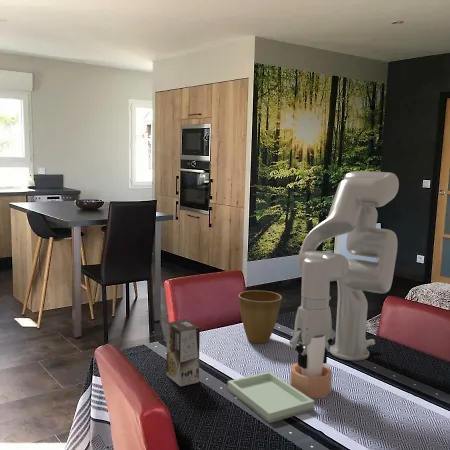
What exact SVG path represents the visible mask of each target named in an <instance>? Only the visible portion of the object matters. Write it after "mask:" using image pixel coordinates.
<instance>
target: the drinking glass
mask: <svg viewBox="0 0 450 450" xmlns="http://www.w3.org/2000/svg"><path fill="white" fill-rule="evenodd" d="M303 346H304V345H303V344H302V349H303ZM324 354H325V335H324V336H323V337H319V338H311V342H310V345H307V351H306V355H307V368H306V369H304V368H302V375H304V376H308V377H320V376H322V369H323V365H324V363H323V361H324Z"/></svg>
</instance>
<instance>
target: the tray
mask: <svg viewBox="0 0 450 450" xmlns="http://www.w3.org/2000/svg"><path fill="white" fill-rule="evenodd" d="M227 391H228V392H230V394H232V395H233V396H234V397H236V398H237V399H239V401H241V402H242V403H243V404H245V405H246V406H247V408H249V409H250V410H252V412H254V413H256V414H257V415H258V416H259V417H260V418H262V419H263V420H264V421H265V422H266V423H267V424H272V423H275V422H278V421H282V420H284V419H288V418H292V417H294V416H300V415H302V414H306V413H309V412H312V411H314V410H315V400H314V399H313V398H309V397H308V396H306V395H305V394H303V393H302V392H300V391H298V390H297V389H295V388H294V387H292V386H291V385H290V383H288V382H286V380H285V381H284V380H283V379H281V378H280V377H278V376H277V375H276V374H274V373H272V372H271V371H266V372H262V373H261V372H260V373H257V374H254V375H253V374H252V375H248V376H244V377H239V378H235V379H231V380H227Z"/></svg>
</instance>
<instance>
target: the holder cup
mask: <svg viewBox="0 0 450 450" xmlns="http://www.w3.org/2000/svg"><path fill="white" fill-rule="evenodd" d="M289 374H290V376H289V385H291V386H292V387H294V388H295V389H297V390H298V391H300V392H302V393H303V394H305V395H306V396H308V397H309V398H311V399H320V398H325V397H328V396H329V394H330V393H331V392H332V379H333V372H332V370H331V368H330V367H329V366H326V365H325V364H323V369H322V376H320V377H308V376H304V375H302V367H300V366H299V365H298V362H297V363H295V362H294V363H293V365H292V366H290V373H289Z"/></svg>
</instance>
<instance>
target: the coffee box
mask: <svg viewBox="0 0 450 450" xmlns="http://www.w3.org/2000/svg"><path fill="white" fill-rule="evenodd" d="M200 330H201V328H200V326H197V325H196V324H194V323H192V322H191V321H189V320H187V319H178V320H175V321H170V322H166V376H167V377H168V378H170V379H171V381H172V382H174V384H175V383H176V384H177V386H179V387H184V386H188V385H192V384H197V383H198V384H199V382H200V344H201V342H200V341H201V340H200V337H201V336H200V334H201V331H200Z"/></svg>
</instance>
